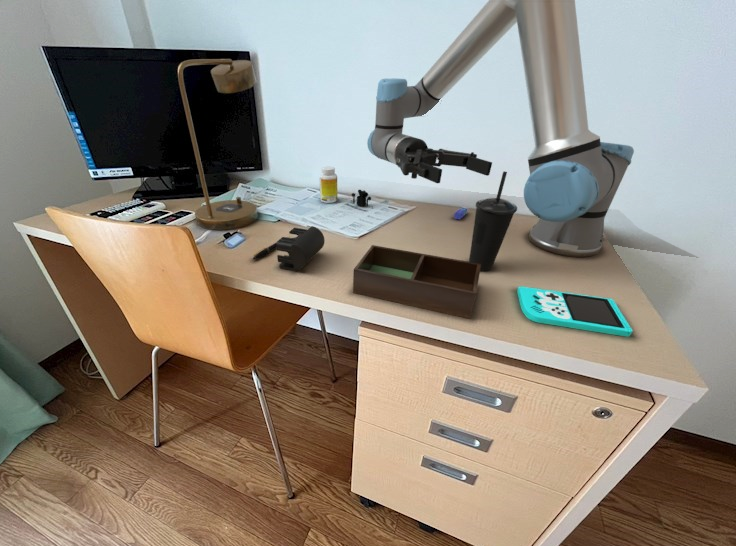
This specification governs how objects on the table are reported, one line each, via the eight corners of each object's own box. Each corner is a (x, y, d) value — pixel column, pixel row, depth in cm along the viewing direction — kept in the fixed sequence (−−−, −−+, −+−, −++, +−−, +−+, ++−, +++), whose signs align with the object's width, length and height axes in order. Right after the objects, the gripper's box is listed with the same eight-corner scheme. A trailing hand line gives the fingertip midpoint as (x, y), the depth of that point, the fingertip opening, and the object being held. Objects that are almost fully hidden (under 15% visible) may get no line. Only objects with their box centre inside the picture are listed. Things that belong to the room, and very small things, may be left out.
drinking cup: (502, 276, 72) (532, 178, 60) (463, 272, 73) (486, 176, 62) (495, 259, 78) (522, 167, 67) (460, 256, 79) (480, 166, 68)
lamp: (285, 202, 111) (272, 58, 89) (233, 234, 91) (200, 57, 69) (241, 196, 117) (219, 59, 95) (183, 224, 96) (138, 58, 75)
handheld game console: (516, 290, 67) (518, 284, 67) (610, 303, 64) (613, 297, 63) (523, 320, 60) (526, 314, 59) (631, 337, 56) (635, 331, 55)
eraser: (467, 214, 101) (468, 207, 100) (460, 220, 97) (461, 213, 96) (460, 212, 102) (461, 206, 101) (453, 218, 98) (454, 212, 97)
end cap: (306, 275, 73) (305, 245, 69) (277, 269, 75) (274, 240, 71) (325, 254, 81) (324, 227, 77) (298, 249, 83) (296, 223, 79)
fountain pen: (289, 238, 88) (288, 232, 88) (292, 239, 88) (292, 233, 87) (251, 261, 78) (250, 255, 77) (254, 262, 78) (254, 256, 77)
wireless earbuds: (350, 204, 109) (350, 188, 106) (355, 202, 110) (355, 186, 107) (369, 209, 105) (370, 192, 102) (373, 206, 107) (374, 190, 104)
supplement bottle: (339, 202, 111) (339, 169, 105) (323, 204, 109) (322, 171, 103) (334, 197, 115) (333, 165, 109) (318, 199, 113) (317, 166, 108)
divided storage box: (370, 266, 76) (372, 244, 73) (475, 287, 69) (481, 263, 66) (352, 292, 67) (353, 269, 64) (469, 318, 60) (476, 293, 57)
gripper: (443, 162, 95) (503, 183, 79) (364, 173, 86) (414, 198, 71) (448, 132, 91) (513, 148, 75) (365, 140, 82) (419, 160, 66)
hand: (465, 172), depth 73 cm, fingers open, 13 cm apart
